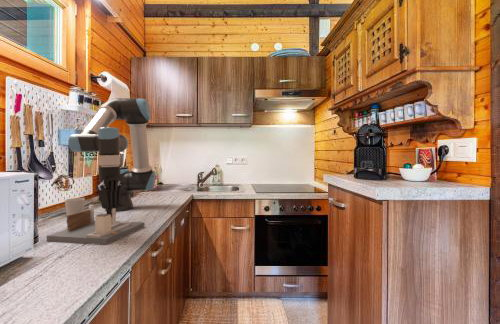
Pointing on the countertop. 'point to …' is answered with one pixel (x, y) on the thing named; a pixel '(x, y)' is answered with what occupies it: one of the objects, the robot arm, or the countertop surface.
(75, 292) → the countertop surface
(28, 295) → the countertop surface
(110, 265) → the countertop surface
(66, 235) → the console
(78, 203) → the cup
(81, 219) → the door
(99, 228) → the fader knob
